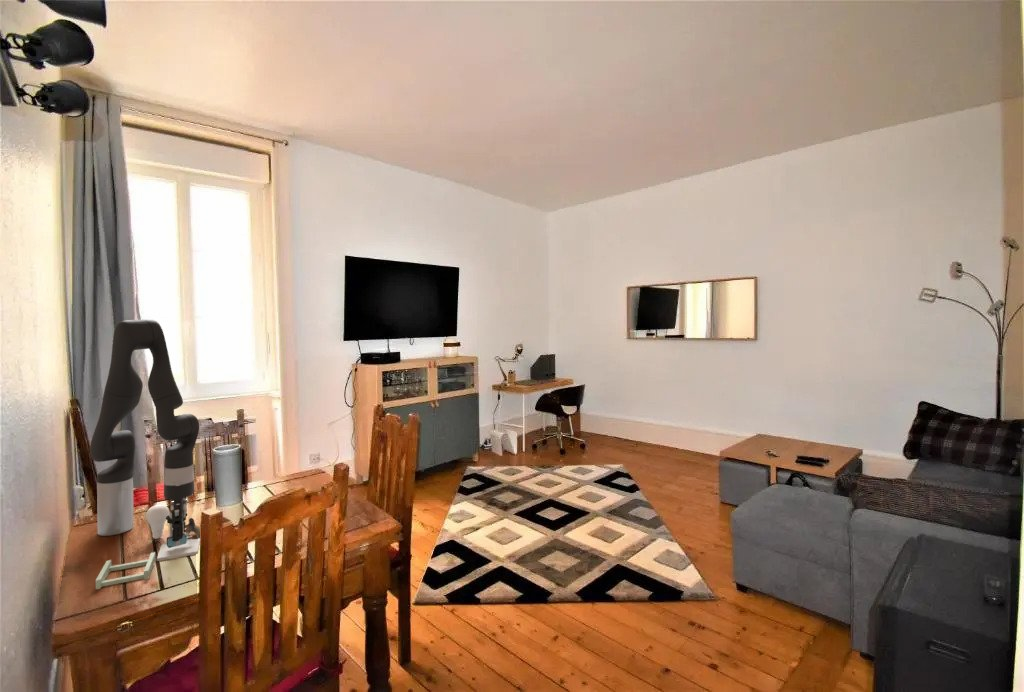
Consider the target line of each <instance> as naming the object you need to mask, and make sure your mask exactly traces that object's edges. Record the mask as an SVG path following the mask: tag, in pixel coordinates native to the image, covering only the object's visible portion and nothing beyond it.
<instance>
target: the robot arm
mask: <svg viewBox="0 0 1024 692" xmlns="http://www.w3.org/2000/svg"><path fill="white" fill-rule="evenodd" d="M112 338H113V339H112V347H111V358H110V364H109V365H110V366H109V370H108V374H107V379H106V383H105V387H104V391H103V396H102V403H101V406H100V413H99V417H98V420H97V423H96V426H95V428H94V432H93V434H92V437H91V441H90V446H89V454H90V458H91V459H92V461H94V462H97V463H101V462H109V461H114V460H115V463H113V464H112V465H110V466H109V467H107V468H104V469H102V470H101V471H99V472H98V474H96V475H97V476H96V481H97V482H96V495H97V496H96V497H97V499H96V501H97V503H96V505H97V507H96V508H97V509H96V511H97V512H96V513H97V521H96V522H97V535H98V536H103V537H104V536H105V537H107V536H109V537H110V536H114V535H119V534H124V533H126V532H129V531H131V530H132V529H133V528H134V469H135V451H136V439H135V435H134V434H133V432H132V431H131V430H128V429H124V430H123V429H121V430H117V431H115V429H116V428H117V426H118V425H119V424H120V423H121V422H122V421H123V420H124V419H125V418H126V417H127V416H129V415H130V414H131V413H132V412H133V411H134V410H135V409H136V407H137V406H138V405H139V404H140V400H141V396H142V392H143V387H144V386H143V385H144V384H143V381H142V378H141V377H140V375H139V374H138V372H137V371H136V370H135V368H134V367H133V365H132V355H133V354H134V353H133V352H134V351H138V350H147V349H148V350H149V352H150V353H151V355H152V367H151V370H150V373H149V376H148V381H147V389H148V392H149V395H150V397H151V400H152V402H153V404H154V407H155V417H156V418H155V421H156V430H157V433H158V435H159V437H160V438H161V439H163V440H165V441H175V440H176V442H175V444H173V445H172V446H170V447H168V448H166V450H165V452H164V471H163V498H164V499H166V500H173V501H171V504H170V511H171V512H170V513H171V519H172V528H174V539H175V540H177V539H182V538H183V525H184V530H186V528H185V525H186V524H185V523H186V520H185V521H184V523H183V519H184V518H185V514H186V513H187V511H188V507H187V506H188V503H189V502H188V499H187V498H188V497H190V496H192V495H193V494H194V493H195V469H194V449H195V446H196V443H197V441H198V440H197V439H198V436H199V433H200V421H199V420H198V418H197V417H196V415H194V414H191V413H184V414H178V415H175V410H177V409H178V408H180V407H182V405H184V404H183V403H184V400H183V397H182V395H181V392H180V389H179V388H178V385H177V382H176V380H175V377H174V374H173V371H172V367H171V361H170V355H169V352H168V351H169V350H168V346H167V342H166V337H165V334H164V330H163V328H162V326H161V325H160V323H159V322H158V321H157V320H154V319H149V318H148V319H145V318H143V319H127V320H126V319H125V320H121V321H119V322H118V323H117V324H116V326H115V327H114V331H113V337H112ZM182 514H183V515H182ZM187 514H188V513H187ZM175 521H180V523H175Z"/></svg>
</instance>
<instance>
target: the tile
mask: <svg viewBox="0 0 1024 692" xmlns="http://www.w3.org/2000/svg"><path fill="white" fill-rule="evenodd" d="M200 545H201V539H200V538H195V539H193V538H192V540H191V539H190V540H189V541H187V543H186V544H183V545H180V546H175V547H171V548H168V546H167V543H166V544H161V546H160V548H159V552H158V554H157V558H156V562H159V561H165V560H171V559H177V558H182V557H188V556H193V555H198V554H199V551H200V550H199V549H200Z"/></svg>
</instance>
